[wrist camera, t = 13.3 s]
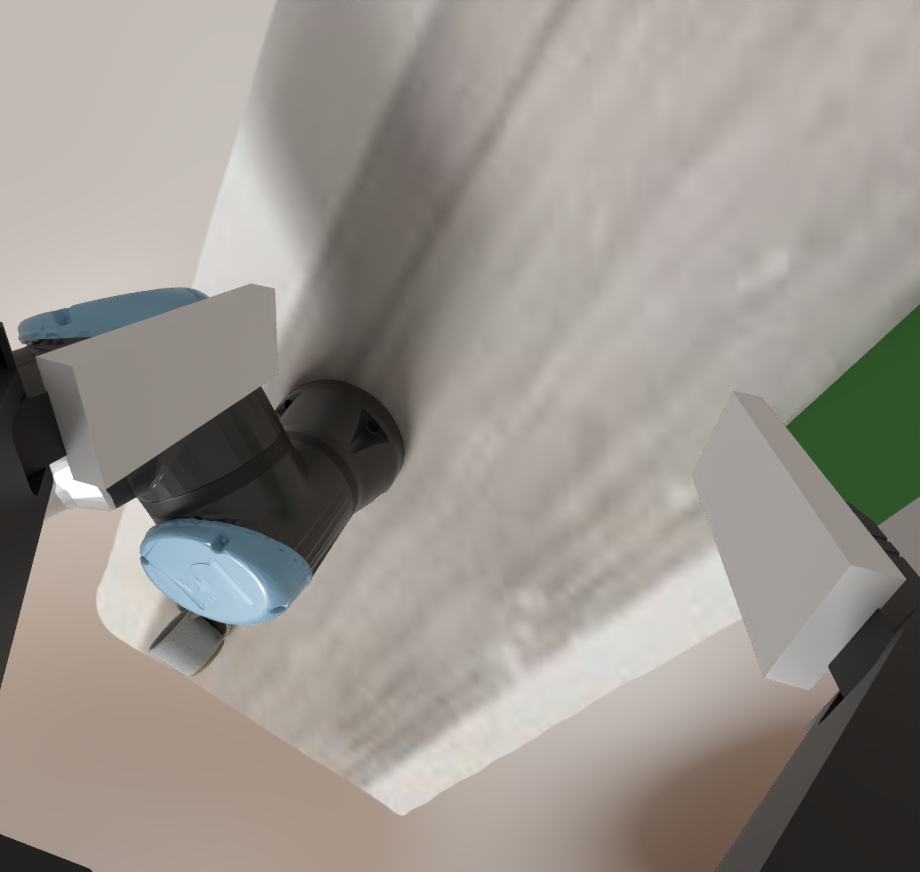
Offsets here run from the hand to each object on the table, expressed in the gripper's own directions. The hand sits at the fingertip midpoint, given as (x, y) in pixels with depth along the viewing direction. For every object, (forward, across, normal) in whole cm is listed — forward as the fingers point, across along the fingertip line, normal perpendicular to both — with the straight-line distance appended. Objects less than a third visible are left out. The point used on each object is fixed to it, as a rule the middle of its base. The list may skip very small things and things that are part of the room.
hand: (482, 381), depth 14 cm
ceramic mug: (+32, -40, -66) cm, 83 cm away
